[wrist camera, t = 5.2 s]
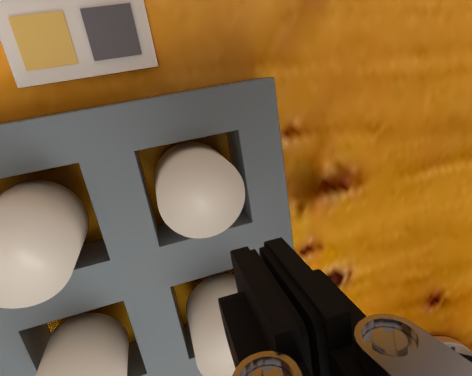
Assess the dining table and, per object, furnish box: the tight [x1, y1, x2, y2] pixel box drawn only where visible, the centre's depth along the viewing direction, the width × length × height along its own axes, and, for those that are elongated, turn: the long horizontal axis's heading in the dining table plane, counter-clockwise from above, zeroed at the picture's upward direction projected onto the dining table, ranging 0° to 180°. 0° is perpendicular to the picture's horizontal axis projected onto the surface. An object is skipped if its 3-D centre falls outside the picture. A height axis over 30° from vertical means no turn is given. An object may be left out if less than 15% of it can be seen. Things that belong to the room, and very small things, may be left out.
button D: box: [36, 313, 129, 376], centre depth 18 cm, size 4×4×4 cm
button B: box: [186, 273, 238, 376], centre depth 19 cm, size 4×4×4 cm
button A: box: [154, 141, 245, 239], centre depth 18 cm, size 4×4×4 cm
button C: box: [0, 180, 89, 309], centre depth 15 cm, size 4×4×4 cm
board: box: [0, 77, 294, 376], centre depth 20 cm, size 18×18×3 cm
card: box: [0, 0, 158, 88], centre depth 16 cm, size 7×7×1 cm
